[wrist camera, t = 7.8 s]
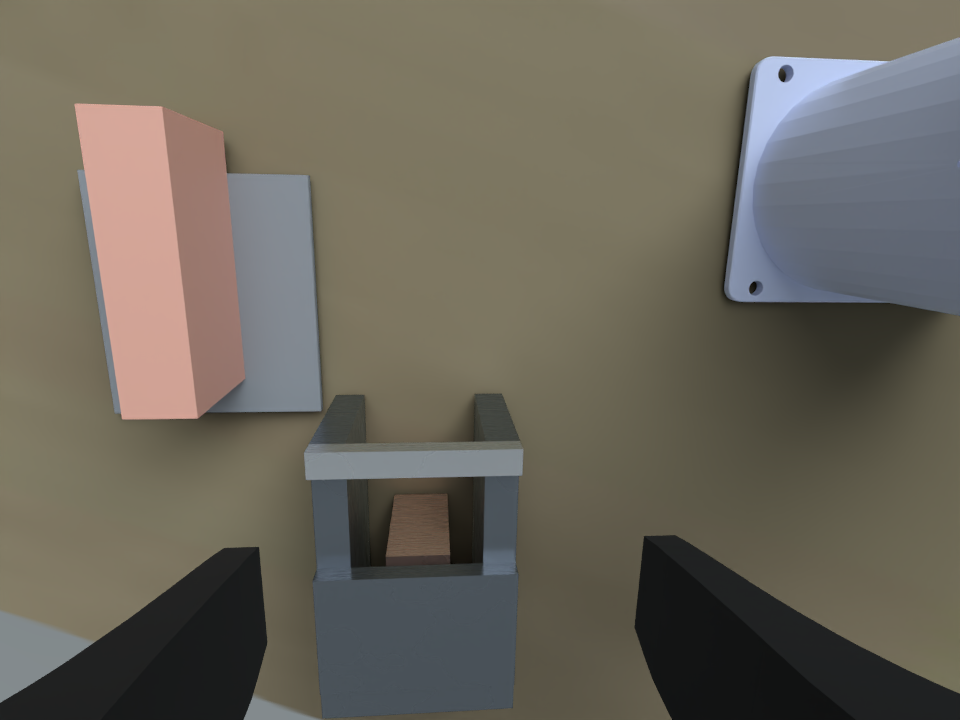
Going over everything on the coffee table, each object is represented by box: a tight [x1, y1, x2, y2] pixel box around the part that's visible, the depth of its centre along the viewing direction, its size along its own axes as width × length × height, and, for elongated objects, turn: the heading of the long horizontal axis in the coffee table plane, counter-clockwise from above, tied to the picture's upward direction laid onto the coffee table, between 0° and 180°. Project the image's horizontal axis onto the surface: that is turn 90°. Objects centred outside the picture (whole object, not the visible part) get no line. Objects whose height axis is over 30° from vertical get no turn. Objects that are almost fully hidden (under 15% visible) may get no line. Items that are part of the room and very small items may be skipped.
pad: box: [77, 170, 323, 413], centre depth 19 cm, size 7×8×1 cm
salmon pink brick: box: [75, 104, 245, 419], centre depth 16 cm, size 2×8×4 cm, turn 179°
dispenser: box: [304, 394, 523, 719], centre depth 19 cm, size 6×9×5 cm, turn 179°
